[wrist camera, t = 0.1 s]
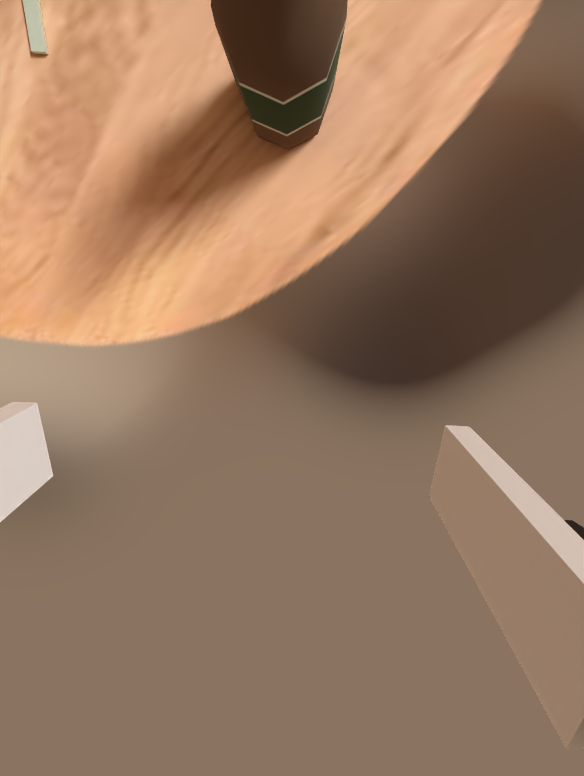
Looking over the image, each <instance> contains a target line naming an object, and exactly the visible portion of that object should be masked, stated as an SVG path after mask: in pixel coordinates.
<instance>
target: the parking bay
mask: <svg viewBox="0 0 584 776" xmlns="http://www.w3.org/2000/svg"><path fill="white" fill-rule="evenodd" d="M23 6H24V12H25V18H26V24H27V30H28V36H29V42H30V48H31V51H32V52H33V53H34V54H48V50H47V44H46V37H45V31H44V24H43V18H42V12H41V5H40V0H23Z"/></svg>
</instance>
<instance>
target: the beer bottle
mask: <svg viewBox="0 0 584 776" xmlns="http://www.w3.org/2000/svg"><path fill="white" fill-rule="evenodd" d="M347 1H348V0H211V8H212V12H213V16H214V21H215V25H216V28H217V31H218V34H219V36H220V39H221V42H222V45H223V47H224V50H225V53H226V56H227V58H228V61H229V64H230V67H231V70H232V72H233V75H234V78H235V81H236V83H237V86H238V89H239V92H240V94H241V97H242V99H243V102H244V104H245V106H246V109H247V111H248V114H249V116H250V119H251V121H252V123H253V126H254V128H255V131H256V133H257V135H258V136H259V137H260V138H263V139H265V140H267V141H269V142H272V143H274V144H276V145H279V146H281V147H283V148H286V149H288V150H289V149H291V148H293V147H295V146H296V145H298V144H300V143H302V142H304V141H306V140H308V139H309V138H311V137H313V136H315V135H317V134H318V131H319V129H320V126H321V123H322V120H323V117H324V114H325V111H326V108H327V105H328V102H329V99H330V96H331V93H332V89H333V85H334V80H335V75H336V70H337V64H338V59H339V54H340V49H341V43H342V38H343V33H344V28H345V22H346V15H347Z"/></svg>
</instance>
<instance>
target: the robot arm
mask: <svg viewBox="0 0 584 776" xmlns="http://www.w3.org/2000/svg"><path fill="white" fill-rule="evenodd" d="M52 476H53V473H52V468H51V463H50V459H49V455H48V450H47V446H46V441H45V437H44V432H43V428H42V423H41V419H40V414H39V410H38V405H37V403H27V402H12V403H10V404H8V405H6V406H4V407H2V408H0V522H1V521H2V520H3V519H5V518H6V517H7V516H8V515H9V514H10V513H11V512H12V511H14V510H15V509H16V508H17V507H18V506H19V505H20V504H22V502H24V501H25V500H26V499H27V498H29V497H30V496H31V495H32V494H33V493H34V492H35V491H36V490H38V489H39V488H40V487H41V486H42V485H43V484H44V483H45V482H47V481H48V480H49V479H50V478H51V477H52ZM429 497H430V499H431V500H432V503H433V504H434V506H435V508H436V510H437V512H438V514H439V515H440V517H441V519H442V521H443V523H444V525H445V526H446V528H447V530H448V532H449V534H450V536H451V538H452V539H453V541H454V543H455V545H456V546H457V549H458V550H459V552H460V554H461V556H462V558H463V559H464V561H465V563H466V565H467V567H468V569H469V571H470V572H471V574H472V576H473V578H474V580H475V582H476V584H477V585H478V587H479V589H480V591H481V593H482V595H483V596H484V598H485V600H486V602H487V604H488V606H489V607H490V609H491V611H492V613H493V615H494V617H495V619H496V620H497V622H498V624H499V626H500V628H501V630H502V631H503V633H504V635H505V637H506V639H507V640H508V642H509V644H510V646H511V648H512V650H513V652H514V653H515V655H516V657H517V659H518V661H519V663H520V665H521V666H522V668H523V670H524V672H525V674H526V676H527V677H528V679H529V681H530V683H531V685H532V687H533V688H534V690H535V692H536V694H537V696H538V698H539V699H540V701H541V703H542V705H543V706H544V708H545V710H546V712H547V714H548V716H549V718H550V720H551V721H552V723H553V725H554V727H555V729H556V731H557V732H558V734H559V736H560V738H561V740H562V742H563V744H564V745H565V747H566V749H578V750H584V528H583V527H582V526H580V525H579V524H577V523H576V522H574V521H572V520H563V519H562V518H561V517H560V516H559V515H558V514H557V513H556V512H555V511H554V510H553V509H552V508H551V507H550V506H549V505H548V504H547V503H546V502H545V501H544V500H543V499H542V498H541V497H540V496H539V495H538V494H537V493H536V492H535V491H534V490H533V489H532V488H530V486H529V485H528V484H527V483H526V482H525V481H524V480H523V479H521V477H520V476H518V474H517V473H516V472H515V471H513V469H512V468H511V467H510V466H508V465H507V464H506V463H505V462H504V461H503V460H502V459H501V458H500V457H499V456H498V455H497V454H496V453H495V452H494V451H493V450H492V449H491V448H490V447H489V446H488V445H487V444H486V443H485V442H484V441H483V440H482V439H481V438H480V437H479V436H478V435H477V434H476V433H475V432H474V431H473V430H472V429H471V428H470V427H465V426H464V427H463V426H447V425H446V426H445V429H444V434H443V438H442V443H441V447H440V452H439V456H438V461H437V465H436V469H435V474H434V478H433V482H432V487H431V491H430V496H429Z"/></svg>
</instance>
